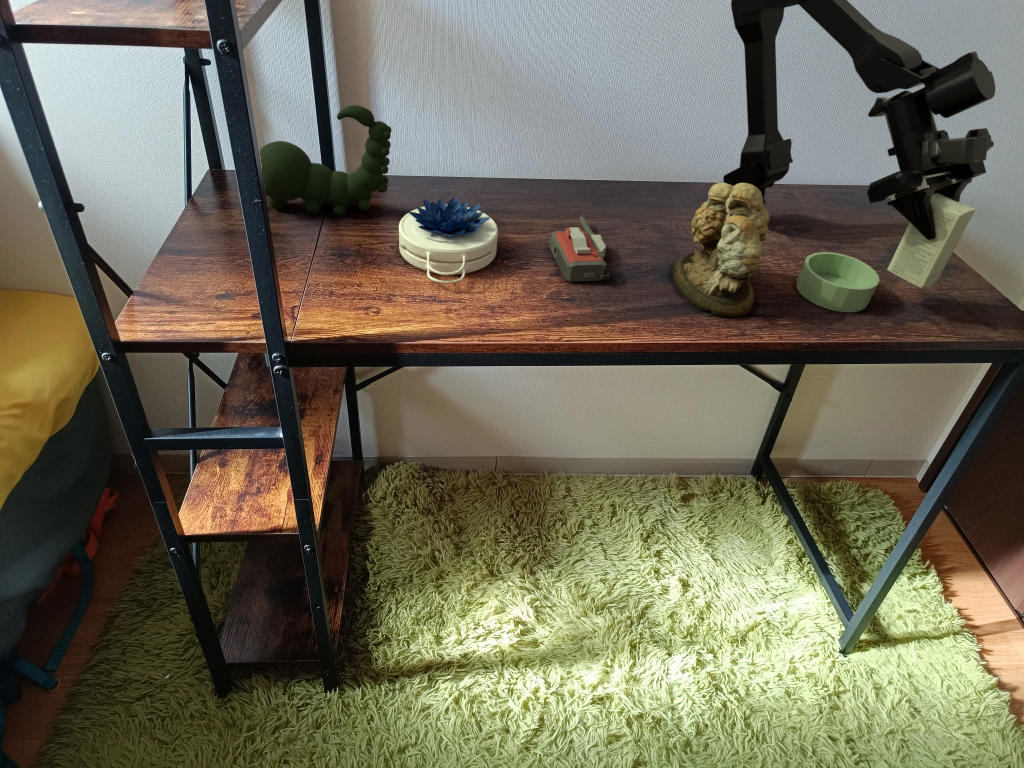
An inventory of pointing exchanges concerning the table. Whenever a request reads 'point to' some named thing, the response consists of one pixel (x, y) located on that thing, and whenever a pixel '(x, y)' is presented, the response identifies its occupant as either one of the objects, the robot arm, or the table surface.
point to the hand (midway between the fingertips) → (942, 236)
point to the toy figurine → (327, 171)
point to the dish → (837, 282)
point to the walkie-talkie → (579, 253)
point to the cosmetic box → (931, 243)
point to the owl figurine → (724, 250)
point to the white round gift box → (448, 238)
